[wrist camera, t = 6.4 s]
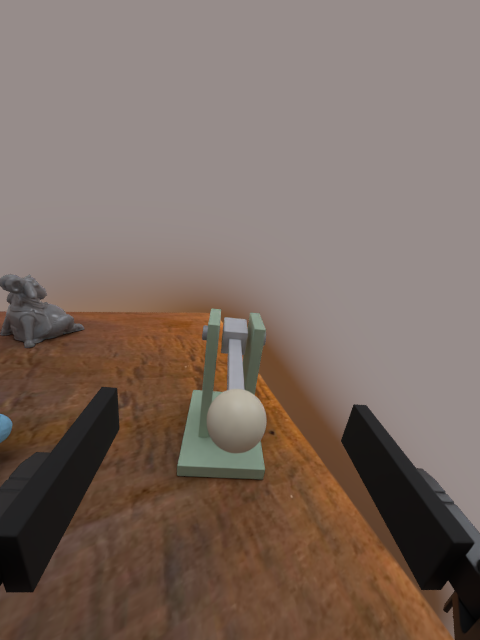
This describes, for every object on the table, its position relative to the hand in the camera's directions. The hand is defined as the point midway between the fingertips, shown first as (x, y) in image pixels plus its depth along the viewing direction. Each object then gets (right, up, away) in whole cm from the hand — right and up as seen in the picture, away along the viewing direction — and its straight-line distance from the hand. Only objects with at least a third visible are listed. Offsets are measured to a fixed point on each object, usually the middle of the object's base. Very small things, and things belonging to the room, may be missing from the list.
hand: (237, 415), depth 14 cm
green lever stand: (-2, -7, +14) cm, 16 cm away
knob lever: (-1, 0, +6) cm, 6 cm away
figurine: (-35, +3, +30) cm, 46 cm away
